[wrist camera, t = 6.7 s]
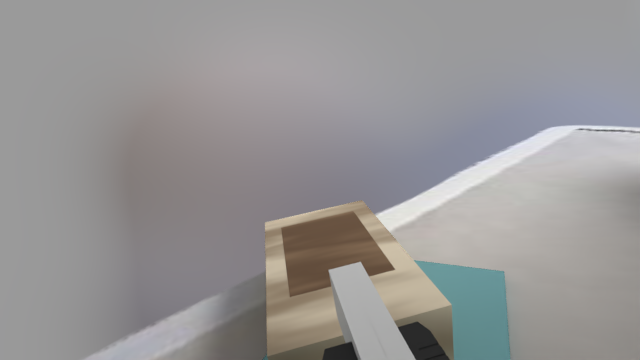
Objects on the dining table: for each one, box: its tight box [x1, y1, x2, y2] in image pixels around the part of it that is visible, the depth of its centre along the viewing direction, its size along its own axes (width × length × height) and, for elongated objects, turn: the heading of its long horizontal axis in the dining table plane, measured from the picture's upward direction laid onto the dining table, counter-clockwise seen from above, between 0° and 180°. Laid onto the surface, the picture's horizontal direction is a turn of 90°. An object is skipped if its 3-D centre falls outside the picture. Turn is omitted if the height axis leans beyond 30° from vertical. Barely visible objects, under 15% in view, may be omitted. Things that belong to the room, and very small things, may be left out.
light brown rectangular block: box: [265, 200, 454, 360], centre depth 24 cm, size 4×10×16 cm
